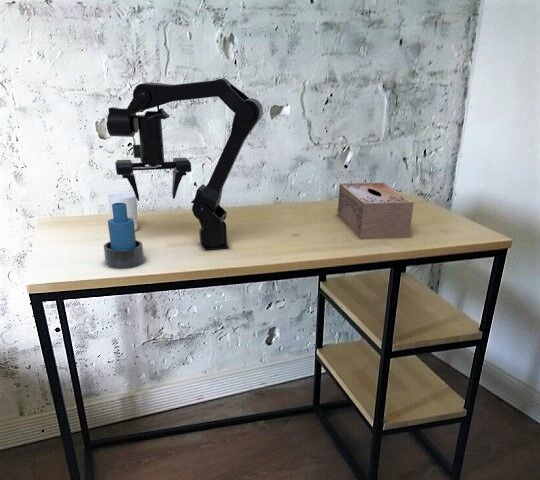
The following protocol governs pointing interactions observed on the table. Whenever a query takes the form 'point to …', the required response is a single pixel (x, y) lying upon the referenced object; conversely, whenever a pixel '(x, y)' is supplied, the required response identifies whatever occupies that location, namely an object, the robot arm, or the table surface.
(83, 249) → the table surface
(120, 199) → the white cup
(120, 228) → the bottle
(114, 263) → the cup holder
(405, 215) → the tissue box cover
